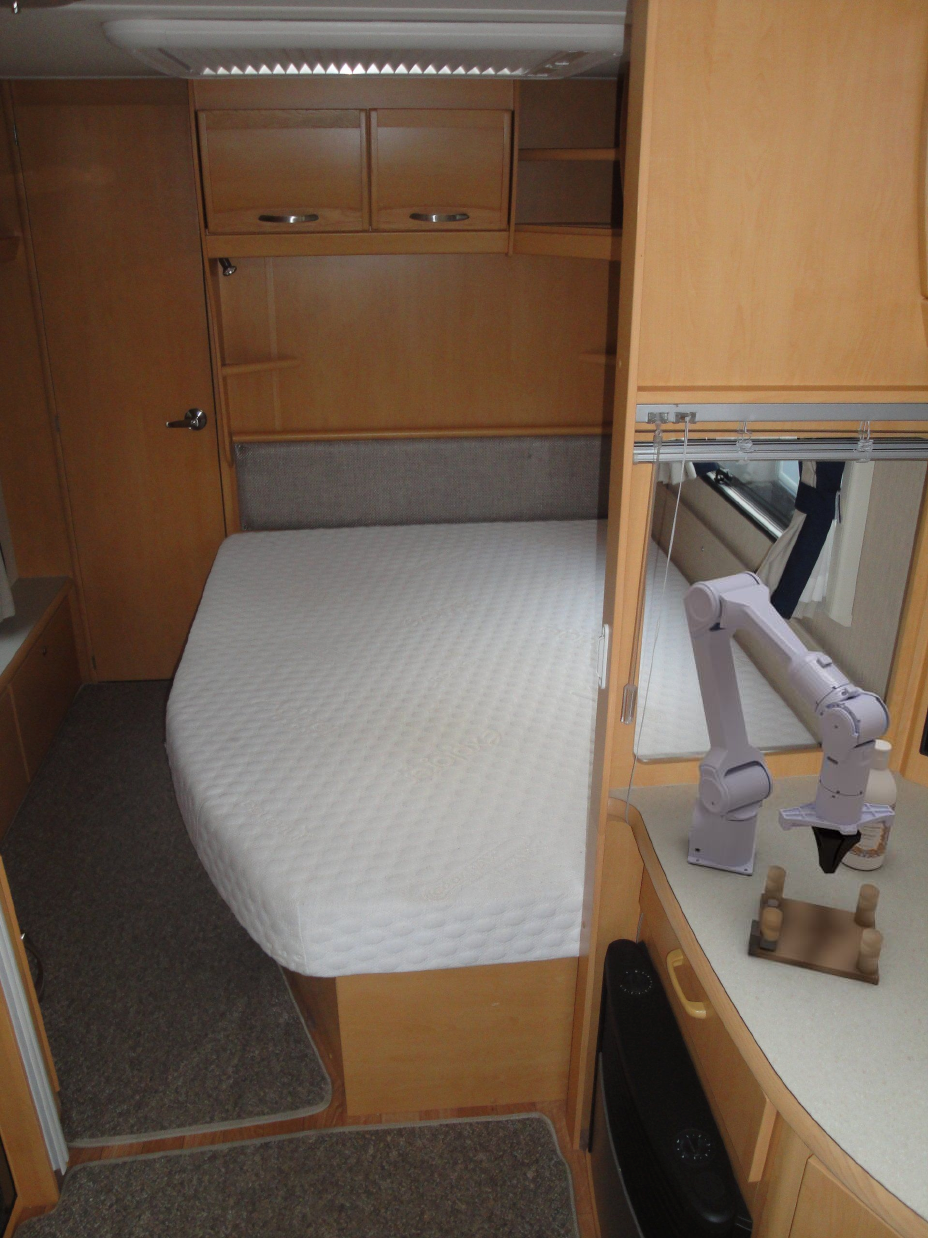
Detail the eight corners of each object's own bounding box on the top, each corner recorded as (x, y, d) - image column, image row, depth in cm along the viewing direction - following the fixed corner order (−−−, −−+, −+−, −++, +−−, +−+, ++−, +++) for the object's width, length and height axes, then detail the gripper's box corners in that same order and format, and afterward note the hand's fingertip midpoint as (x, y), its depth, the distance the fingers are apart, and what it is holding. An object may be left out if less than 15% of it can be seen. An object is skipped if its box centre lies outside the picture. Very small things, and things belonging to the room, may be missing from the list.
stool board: (747, 955, 123) (753, 917, 121) (753, 897, 134) (758, 861, 131) (877, 985, 118) (886, 946, 116) (873, 922, 129) (881, 885, 126)
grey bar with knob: (762, 909, 129) (767, 879, 127) (780, 913, 129) (785, 883, 127) (757, 947, 123) (762, 917, 121) (776, 952, 122) (782, 921, 120)
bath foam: (835, 867, 140) (856, 753, 132) (833, 839, 146) (853, 729, 138) (885, 875, 138) (910, 760, 130) (880, 847, 144) (904, 736, 136)
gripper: (798, 803, 115) (784, 891, 120) (913, 799, 115) (894, 886, 121) (778, 771, 121) (765, 856, 126) (886, 767, 122) (869, 852, 127)
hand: (826, 869), depth 124 cm, fingers closed
